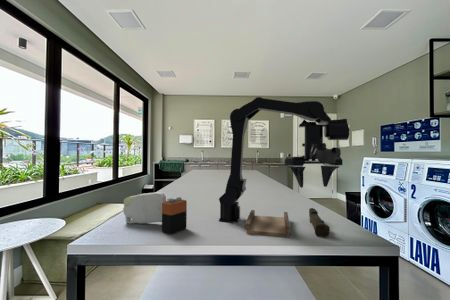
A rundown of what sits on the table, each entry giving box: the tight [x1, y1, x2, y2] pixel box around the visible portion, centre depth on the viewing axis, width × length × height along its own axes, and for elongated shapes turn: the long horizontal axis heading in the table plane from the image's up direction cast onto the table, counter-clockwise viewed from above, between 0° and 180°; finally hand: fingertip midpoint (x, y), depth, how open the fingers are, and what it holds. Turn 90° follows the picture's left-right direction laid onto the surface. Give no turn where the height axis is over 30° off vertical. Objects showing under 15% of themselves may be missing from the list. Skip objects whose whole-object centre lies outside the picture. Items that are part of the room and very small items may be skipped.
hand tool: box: [308, 207, 331, 238], centre depth 75 cm, size 19×4×5 cm, turn 166°
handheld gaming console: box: [122, 191, 167, 224], centre depth 77 cm, size 11×3×15 cm
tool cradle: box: [244, 209, 291, 238], centre depth 75 cm, size 13×17×3 cm
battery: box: [161, 196, 188, 235], centre depth 71 cm, size 4×7×10 cm, turn 145°
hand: (313, 187), depth 76 cm, fingers open, 9 cm apart
